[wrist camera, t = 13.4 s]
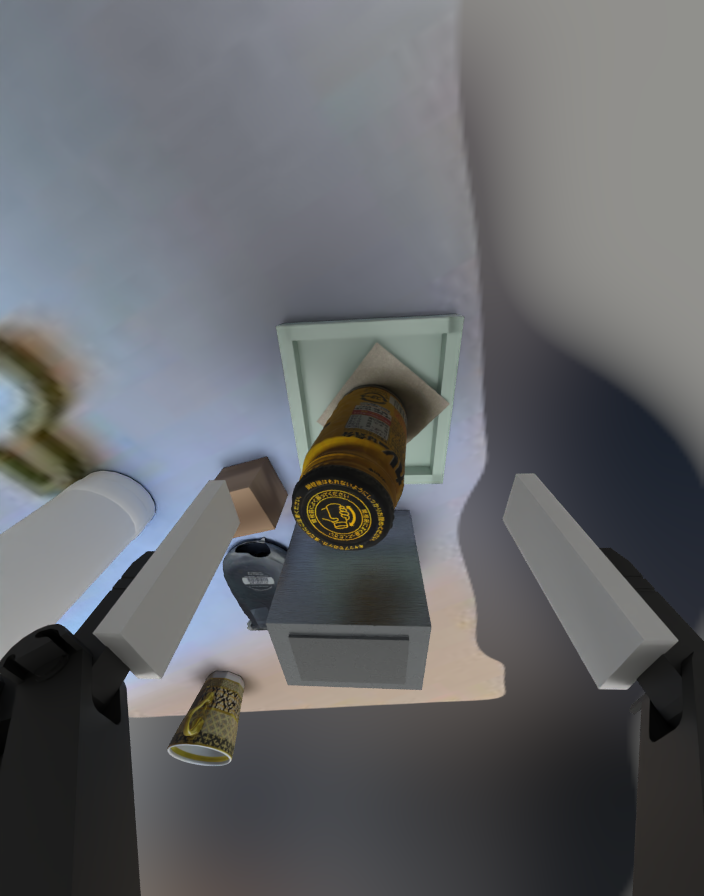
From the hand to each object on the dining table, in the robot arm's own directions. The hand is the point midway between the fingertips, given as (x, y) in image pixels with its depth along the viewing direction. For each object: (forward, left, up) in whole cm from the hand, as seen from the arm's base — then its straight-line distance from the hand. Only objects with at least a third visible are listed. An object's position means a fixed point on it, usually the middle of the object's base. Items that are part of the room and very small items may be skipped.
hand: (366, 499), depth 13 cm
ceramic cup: (+52, -28, -13) cm, 61 cm away
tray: (0, 0, -13) cm, 13 cm away
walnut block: (+8, -12, -13) cm, 20 cm away
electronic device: (+24, -14, -14) cm, 31 cm away
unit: (+17, -2, -13) cm, 22 cm away
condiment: (0, +1, -12) cm, 12 cm away
